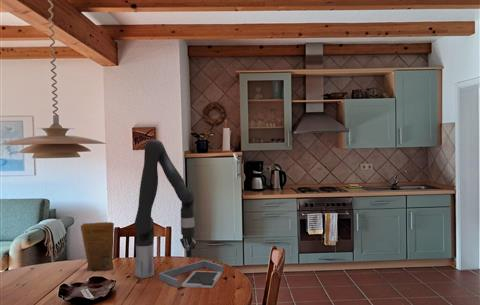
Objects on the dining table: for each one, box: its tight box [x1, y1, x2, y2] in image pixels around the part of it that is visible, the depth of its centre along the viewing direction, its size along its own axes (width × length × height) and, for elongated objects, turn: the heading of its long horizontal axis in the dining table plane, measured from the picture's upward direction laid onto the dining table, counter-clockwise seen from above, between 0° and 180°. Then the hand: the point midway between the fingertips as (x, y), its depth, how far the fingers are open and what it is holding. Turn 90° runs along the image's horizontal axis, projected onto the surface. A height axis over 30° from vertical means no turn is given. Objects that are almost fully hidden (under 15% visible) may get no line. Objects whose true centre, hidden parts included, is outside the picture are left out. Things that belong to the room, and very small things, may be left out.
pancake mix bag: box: [80, 221, 115, 272], centre depth 224 cm, size 7×19×28 cm, turn 83°
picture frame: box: [181, 270, 223, 289], centre depth 203 cm, size 16×3×21 cm
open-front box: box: [158, 259, 224, 288], centre depth 210 cm, size 31×17×4 cm, turn 134°
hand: (189, 256), depth 212 cm, fingers closed
